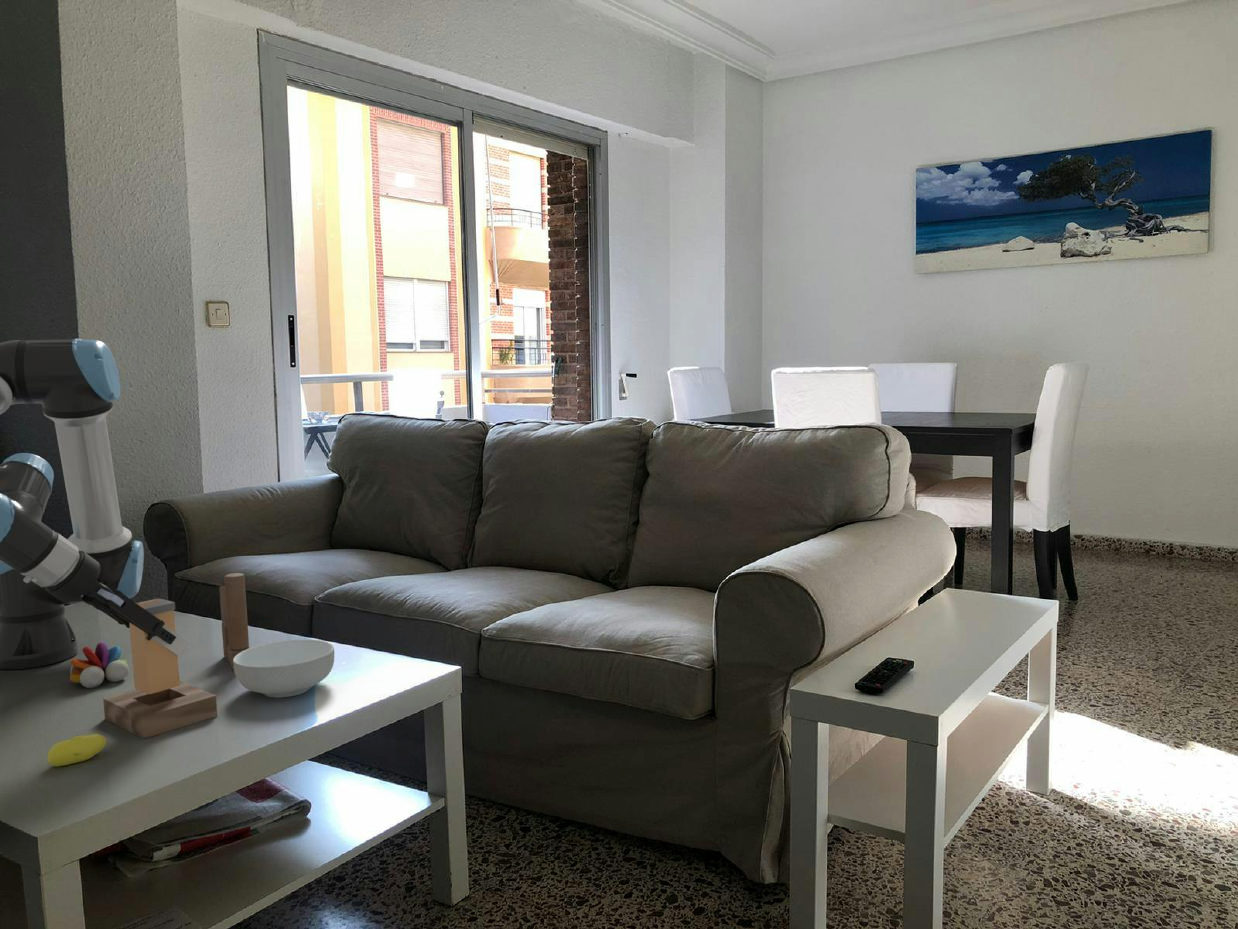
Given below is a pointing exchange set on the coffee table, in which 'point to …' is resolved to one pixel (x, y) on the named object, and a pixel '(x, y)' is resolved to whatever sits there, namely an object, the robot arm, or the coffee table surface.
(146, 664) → the plug
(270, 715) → the coffee table surface
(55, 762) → the yellow oblong piece
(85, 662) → the rainbow petal toy
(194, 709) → the header block
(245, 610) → the wooden v-shaped piece
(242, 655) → the cereal bowl
